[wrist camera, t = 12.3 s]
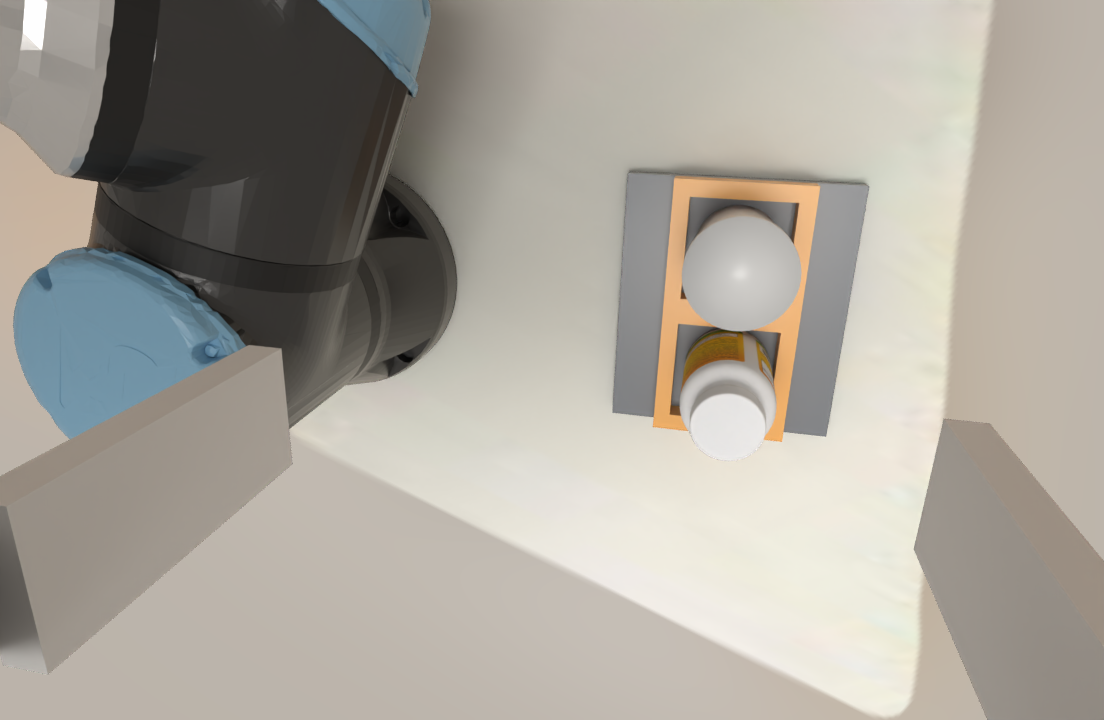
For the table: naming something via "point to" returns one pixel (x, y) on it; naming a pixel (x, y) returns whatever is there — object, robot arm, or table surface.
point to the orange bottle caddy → (736, 286)
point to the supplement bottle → (728, 394)
